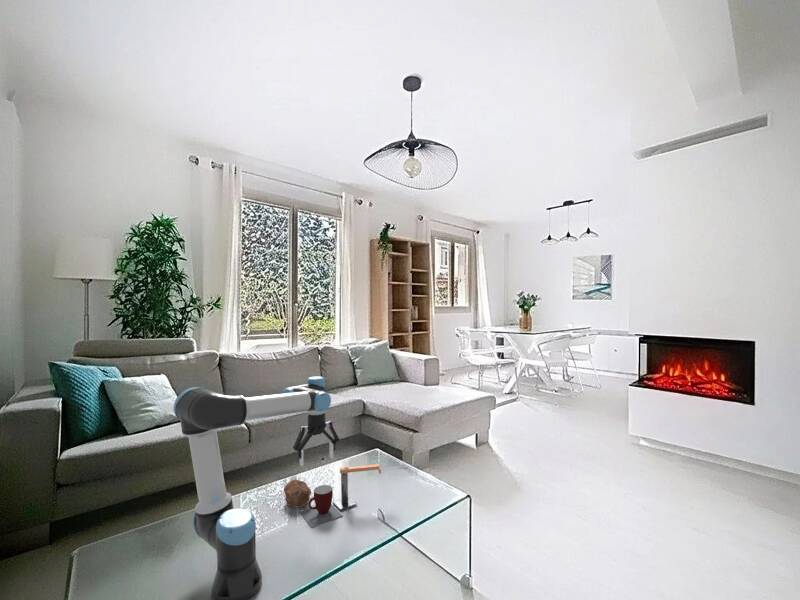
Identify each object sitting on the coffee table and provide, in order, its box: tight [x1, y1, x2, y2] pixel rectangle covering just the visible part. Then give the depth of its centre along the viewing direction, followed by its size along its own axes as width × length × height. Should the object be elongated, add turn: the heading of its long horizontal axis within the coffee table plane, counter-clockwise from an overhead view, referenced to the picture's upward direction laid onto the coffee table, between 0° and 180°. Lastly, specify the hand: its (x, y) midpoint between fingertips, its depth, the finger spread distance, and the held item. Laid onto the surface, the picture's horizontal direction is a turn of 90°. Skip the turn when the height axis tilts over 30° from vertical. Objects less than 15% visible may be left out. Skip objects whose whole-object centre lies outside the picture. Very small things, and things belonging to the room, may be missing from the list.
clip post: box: [332, 473, 358, 512], centre depth 175 cm, size 8×8×14 cm
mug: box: [307, 484, 334, 515], centre depth 168 cm, size 10×8×10 cm
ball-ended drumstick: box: [339, 463, 382, 475], centre depth 177 cm, size 4×19×4 cm, turn 101°
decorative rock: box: [283, 478, 312, 508], centre depth 177 cm, size 13×11×10 cm
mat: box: [299, 503, 343, 529], centre depth 168 cm, size 14×14×1 cm
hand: (316, 461), depth 167 cm, fingers open, 13 cm apart
